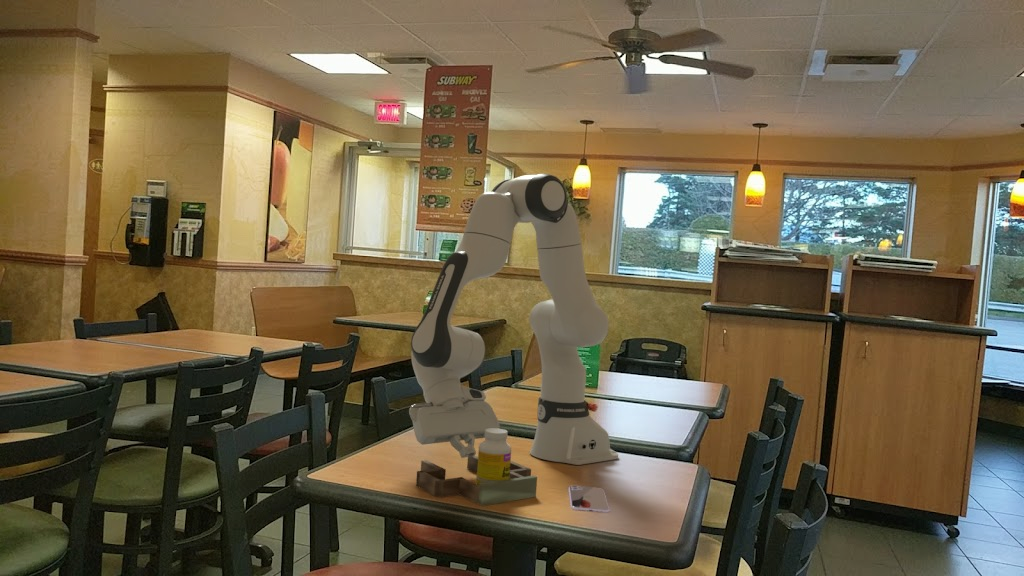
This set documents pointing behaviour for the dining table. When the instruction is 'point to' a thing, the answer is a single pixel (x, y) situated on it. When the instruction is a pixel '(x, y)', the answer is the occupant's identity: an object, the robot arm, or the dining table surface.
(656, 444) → the dining table surface
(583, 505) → the mobile phone
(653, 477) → the dining table surface
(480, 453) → the supplement bottle
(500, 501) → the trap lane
